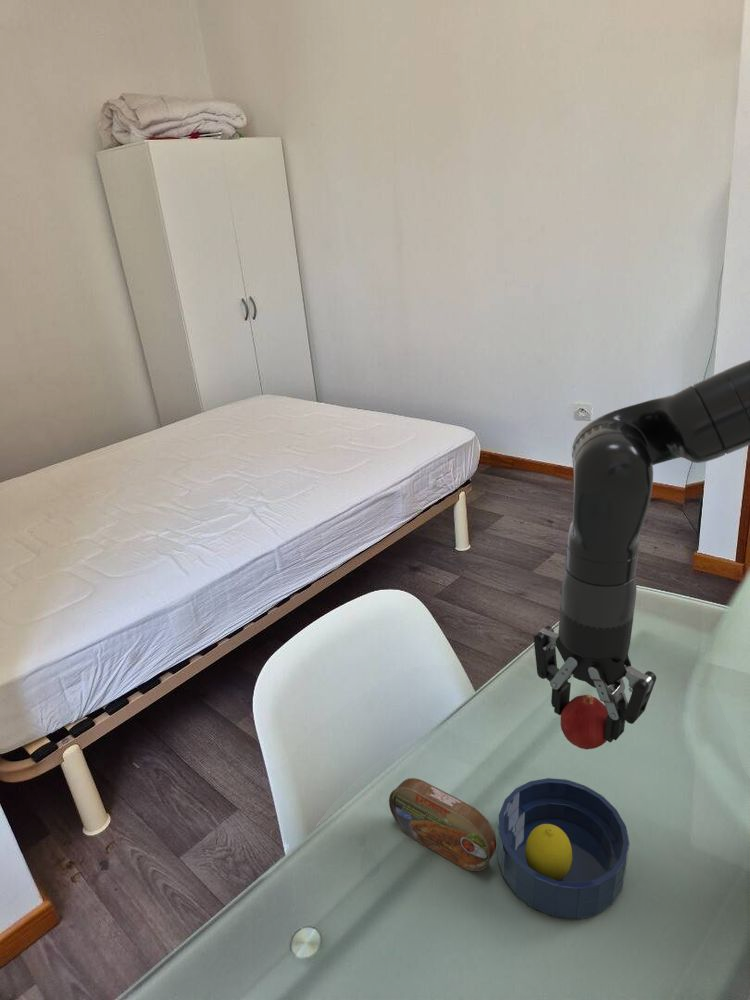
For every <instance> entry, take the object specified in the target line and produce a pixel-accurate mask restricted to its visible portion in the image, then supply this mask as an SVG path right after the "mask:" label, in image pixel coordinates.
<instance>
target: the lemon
mask: <svg viewBox="0 0 750 1000" xmlns="http://www.w3.org/2000/svg"><path fill="white" fill-rule="evenodd" d="M525 855H526V861H527V864H528V866H529V867H530V868H531V869H533V870H534V871H535V872H537V873H538V874H541V875H543V876H546V877H549V878H551V879H554V880H556V881H559V880H561V879H562V878H563V877H565V876H566V874H567V873H568V871H569V870H570V867H571V863H572V848H571V844H570V841H569V839H568V837H567V835H566V834H565V833H564V832H563V831H562V830H561V829H560V828H559V827H557V826H555V825H552V824H542V825H539V826H537V827H535V828H534V829H533V830H532V831H531V833H530V835H529V837H528V839H527V842H526V847H525Z"/></svg>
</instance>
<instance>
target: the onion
mask: <svg viewBox="0 0 750 1000" xmlns="http://www.w3.org/2000/svg"><path fill="white" fill-rule="evenodd" d="M607 716H608V712H607V709H606V706H605V704H604V702H602V701H601V700H600V699H598V698H597V697H595V696H593V695H592V694H589V693H588V694H587V693H586V694H582V695H577V696H575V697H573V698H572V699H571V700H569V702H568V703H567V704H566V706H565V707H564V709H563V710H562V713H561V715H560V728H561V729H560V730H561V731H562V734H563V735H564V737H565V739H566V740H567V741H568V742H569V743H570V744H571V745H573V746H575V747H577V748H579V749H583V750H593V749H597V748H599V747H601V746H603V745H605V744H606V743H607V741H606V740H605V739H604V736H605V727H606V718H607Z"/></svg>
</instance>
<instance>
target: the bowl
mask: <svg viewBox="0 0 750 1000" xmlns="http://www.w3.org/2000/svg"><path fill="white" fill-rule="evenodd" d="M497 819H498V823H497V824H498V825H497V826H498V827H497V830H498V831H497V862H498V865H499V867H500V871H501V873H502V877H503V879H504V880H505V881H506V883H507V884H508V886H509V887H510V888H511V890H512V891H513V893H514V894H515V895H516V896H517V897H518V898H519V899H521V900H523V901H524V902H525V903H526V904H528V906H530V907H531V908H533V909H534V910H538V911H540V912H542V913H544V914H547V915H550V916H552V917H555V918H563V919H571V920H572V919H573V920H577V919H578V920H579V919H583V918H587V917H592V916H593V917H594V916H597V915H598V914H600V913H601V912H603V911H604V910H606V909H607V908H610V907H611V906H612V905H613V904H614V903H615V902H616V900H617V898H618V897H619V896H620V895H621V893H622V891H623V886H624V881H625V876H626V871H627V870H626V869H627V864H628V857H629V848H630V839H629V835H628V829H627V826H626V824H625V822H624V820H623V819H622V816H621V815H620V813H619V811H618V810H617V809H616V807H614V805H613V804H611V802H609V801H608V800H607V799H606V797H605V796H604V795H602V794H600V793H598V792H597V791H596V790H594V789H592V788H590V787H588V786H587V785H584V784H581V783H578V782H576V781H573V780H570V779H563V778H552V777H551V778H550V777H546V778H540V779H535V780H530V781H527V782H526V783H524V784H522V785H519V786H517V787H516V788H514V790H513V791H512V792H510V794H509V795H508V796H507V797H506V798H505V799H504V801H503V802H502V805H501V807H500V811H499V812H498V818H497ZM542 824H552V825H555V826H557V827H559V828H560V829H561V830H562V831H563V832H564V833H565V834H566V835H567V837H568V839H569V841H570V844H571V848H572V863H571V867H570V870H569V871H568V873H567V874H566V876H565V877H563V878H562V879H561V880H559V881H556V880H554V879H551V878H549V877H546V876H543V875H541V874H538V873H537V872H535V871H534V870H533V869H531V868H530V867H529V866H528V864H527V861H526V855H525V847H526V842H527V839H528V837H529V835H530V833H531V831H532V830H533V829H534V828H535V827H537V826H539V825H542Z"/></svg>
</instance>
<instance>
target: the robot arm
mask: <svg viewBox="0 0 750 1000" xmlns="http://www.w3.org/2000/svg"><path fill="white" fill-rule="evenodd" d="M749 446H750V359H748V360H745V361H743V362H741V363H738V364H736V365H733V366H731V367H728V368H727V369H724V370H722V371H719V372H718V373H715V374H713V375H711V376H708V377H707V378H705V379H702V380H700V381H698V382H695V383H694V384H693V385H689V386H687V387H685V388H683V389H682V390H680V391H678V392H676V393H673V394H671V395H667V396H663V397H658V398H654V399H649V400H646V401H642V402H639V403H635V404H632V405H628V406H624V407H621V408H619V409H616V410H613V411H611V412H608V413H605V414H602V415H601V416H599V417H597V418H595V419H593V420H592V421H590V422H589V423H588V424H586V425H585V426H584V427H583V428H582V429H581V430H579V432H578V433H577V434H576V436H575V438H574V440H573V443H572V446H571V459H572V462H571V463H572V470H573V505H572V506H573V508H572V520H571V522H570V524H569V528H568V533H567V541H566V542H567V543H566V555H565V567H564V573H563V576H562V579H561V580H562V581H561V588H560V605H559V606H560V607H559V619H558V620H559V621H558V632H555V630H554V628H553V627H552V626H550V625H546V626H544V627H543V628H542V629H540V630H539V631H538V632H537V633H536V634H535V635H534V636H533V643H534V644H533V646H534V655H535V665H536V674H537V676H538V678H540V679H541V680H545V679H546V680H547V681H548V682H549V685H550V687H551V699H550V701H551V702H550V704H551V706H552V707H553V713H555V714H556V715H558V716H561V713H562V710H563V709H564V707H565V706H566V704H567V703H568V702H570V698H571V686H572V685H571V684H572V683H571V682H569V680H570V678H571V677H573V678H574V679H576V680H578V681H582V682H585V683H587V684H588V685H589V686H591V687H592V688H594V689H595V690H596V692H597V696H598V697H599V701H600V702H602V703H603V704H604V705H605V706H606V709H607V712H608V716H607V718H606V727H605V736H604V739H605V740H606V742H608V743H610V744H611V743H612V742H613V741H617V740H618V739H619V737H621V736H622V734H623V733H624V732H625V725H626V723H627V724H630V725H631V724H633V725H634V723H636V722H637V720H638V719H639V718H640V717H641V716H642V714H644V712H645V711H646V708H647V705H648V703H649V700H650V697H651V695H652V692H653V689H654V686H655V684H656V681H657V676H656V674H655V673H654V672H653V671H650V670H647V671H646V672H645V673H643V672H641V671H640V670H638V669H637V668H634V667H633V666H632V662H631V659H630V657H629V651H630V646H631V640H632V632H633V625H634V624H633V623H634V616H635V606H636V598H637V570H638V563H639V553H640V543H641V540H640V539H641V538H640V537H641V533H642V530H643V527H644V524H645V521H646V518H647V513H648V511H649V507H650V503H651V498H652V492H653V486H654V466H655V465H657V464H661V463H665V462H669V461H671V460H676V459H680V458H681V459H682V458H683V459H684V460H685V459H686V460H687V461H690V462H692V463H695V464H701V463H706V462H710V461H713V460H716V459H718V458H721V457H724V456H725V455H728V454H731V453H734V452H736V451H739V450H741V449H743V448H745V447H749ZM556 649H557V650H558V653H559V654H560V657H561V658H562V660H563V662H564V663H563V664H562V665H561V667H560V668H559V667H558V661H557V651H556ZM624 678H626V679H627V680H628V687H629V688H628V691H629V692H630V693H631V694H630V698H629V700H628V698H627V696H626V693H625V689H626V684H625V682H624Z"/></svg>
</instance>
